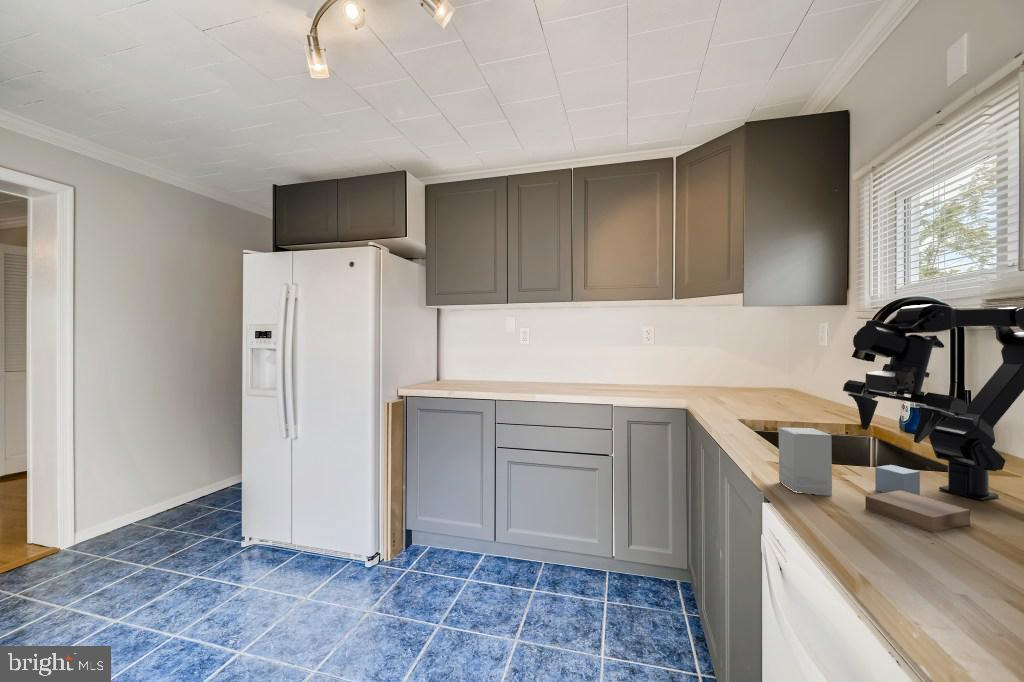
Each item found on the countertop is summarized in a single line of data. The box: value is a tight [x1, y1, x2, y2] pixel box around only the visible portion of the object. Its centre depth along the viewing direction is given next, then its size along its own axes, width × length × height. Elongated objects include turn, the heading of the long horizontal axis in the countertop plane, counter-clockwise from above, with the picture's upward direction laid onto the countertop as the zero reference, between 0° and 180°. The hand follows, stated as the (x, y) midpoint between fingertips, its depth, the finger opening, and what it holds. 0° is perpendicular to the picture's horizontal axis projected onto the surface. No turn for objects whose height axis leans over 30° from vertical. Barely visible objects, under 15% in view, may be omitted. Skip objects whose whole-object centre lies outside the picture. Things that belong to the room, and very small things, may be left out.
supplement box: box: [778, 427, 833, 497], centre depth 89 cm, size 7×7×13 cm
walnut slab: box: [864, 490, 971, 533], centre depth 75 cm, size 10×10×2 cm
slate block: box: [874, 464, 921, 496], centre depth 86 cm, size 5×5×5 cm
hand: (888, 435), depth 86 cm, fingers open, 9 cm apart
